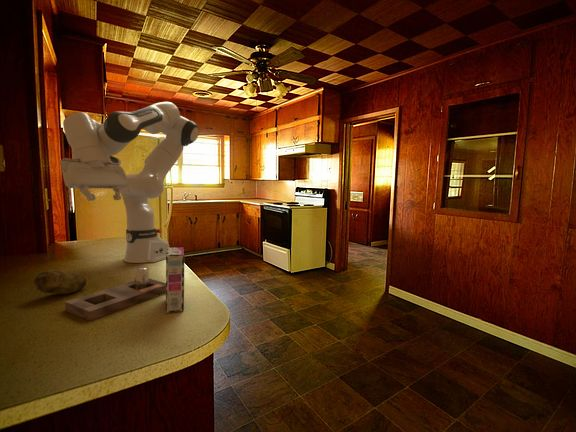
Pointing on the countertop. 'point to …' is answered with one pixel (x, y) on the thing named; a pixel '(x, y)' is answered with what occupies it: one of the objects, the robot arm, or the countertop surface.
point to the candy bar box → (175, 279)
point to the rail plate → (113, 299)
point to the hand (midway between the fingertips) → (105, 200)
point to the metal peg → (141, 278)
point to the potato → (59, 282)
